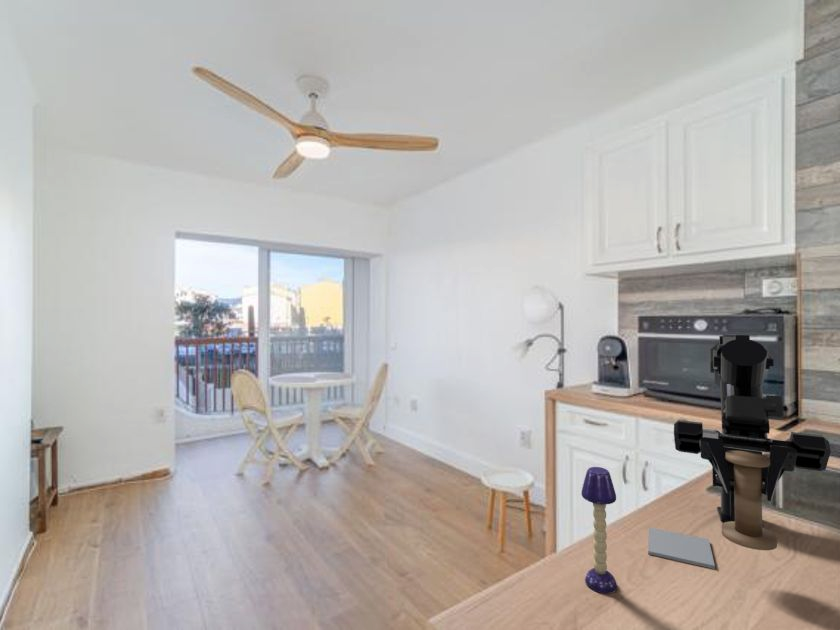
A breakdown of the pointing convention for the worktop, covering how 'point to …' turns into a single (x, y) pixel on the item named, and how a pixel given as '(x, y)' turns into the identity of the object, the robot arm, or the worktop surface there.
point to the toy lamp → (599, 526)
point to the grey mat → (680, 547)
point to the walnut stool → (748, 502)
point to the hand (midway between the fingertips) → (748, 496)
